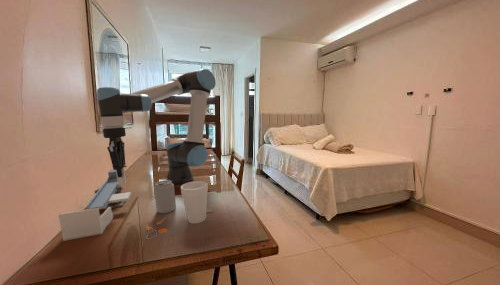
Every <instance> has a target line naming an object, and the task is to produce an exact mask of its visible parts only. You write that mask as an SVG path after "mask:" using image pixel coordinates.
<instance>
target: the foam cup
mask: <svg viewBox="0 0 500 285" xmlns="http://www.w3.org/2000/svg"><path fill="white" fill-rule="evenodd" d="M208 192H209V185H208V182H207V181H204V180H196V181H189V182H186V183H182V185H181V186H180V193H181V196H182V199H183V200H182V201H183V204H184V207H185V212H186V216H187V221H188V223H189V224H200V223H202V222H204V221H205V220H206V218H207V208H208V206H207V204H208Z"/></svg>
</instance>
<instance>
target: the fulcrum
mask: <svg viewBox="0 0 500 285" xmlns="http://www.w3.org/2000/svg"><path fill="white" fill-rule="evenodd" d="M100 188H101V187H99V188H97V189H96V190H94V194H96V193H97V192H98V190H99V189H100ZM123 189H124V187H123V186H121V185H120V186H118V187H117V191H116V192H115V194H120V193H122V191H123ZM126 202H127V201H120V202H113V203H109V204H108V206H107V207H106V208H103V209H99V211H101V210H106V209H107V208H108V207H111V209H114V208H122V207H124V205H125V203H126Z"/></svg>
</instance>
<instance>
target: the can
mask: <svg viewBox="0 0 500 285" xmlns="http://www.w3.org/2000/svg"><path fill="white" fill-rule="evenodd" d="M153 191H154V200H155V201H154V202H155V207H156V208H155V209H156V212H157V213H159V214H164V215H165V214H169V213H172V212H173V211H174V210H175V209H176V208H177V203H176V194H175V184H173V183H172V181H170V180H167V179H166V180H159V181H157V182H155V185H154V187H153Z"/></svg>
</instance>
